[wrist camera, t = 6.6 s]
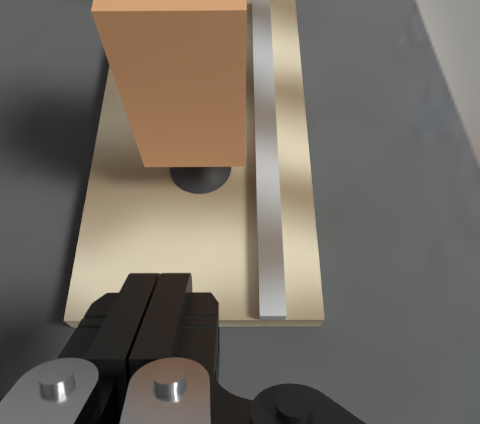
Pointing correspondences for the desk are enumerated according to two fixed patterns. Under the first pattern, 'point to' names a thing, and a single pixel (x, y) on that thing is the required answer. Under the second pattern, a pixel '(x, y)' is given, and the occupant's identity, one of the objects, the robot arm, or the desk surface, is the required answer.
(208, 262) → the plate
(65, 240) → the desk surface
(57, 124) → the desk surface
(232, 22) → the tan wooden block
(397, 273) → the desk surface
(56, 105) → the desk surface
